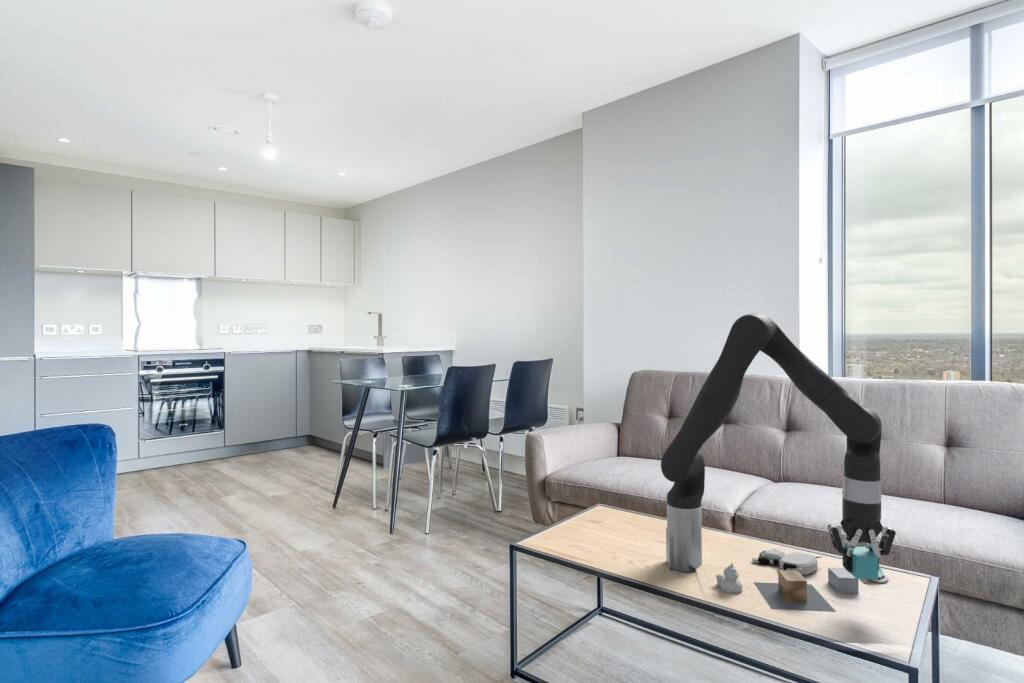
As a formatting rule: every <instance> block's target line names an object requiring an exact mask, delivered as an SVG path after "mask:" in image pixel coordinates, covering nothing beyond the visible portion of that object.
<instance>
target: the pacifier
mask: <svg viewBox="0 0 1024 683" xmlns="http://www.w3.org/2000/svg"><path fill="white" fill-rule="evenodd" d="M882 576H883V577H882ZM878 578H881V579H878V580H875V579H869V580H870V581H872V582H874V583H881V584H883V583H887V582H888V581H889V577H888V575H886V574H885V573H884V571H883V569H882V568H881V567H880V566H879V570H878Z"/></svg>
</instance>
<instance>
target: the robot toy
mask: <svg viewBox="0 0 1024 683" xmlns="http://www.w3.org/2000/svg"><path fill="white" fill-rule="evenodd" d="M822 558H823V556H821V555H819V556H814V555H813V554H809V553H804V552H799V551H797V552H789V553H787V554H785V552H784V551H781V550H778V549H775V548H773V549H770V548H769V549H766V550H762V551H761V552H760V553H759V556H758V557H752V558H751V561H752V563H755V564H756V563H758V565H762V566H767V565H769V564H770V565H774V566H778V567H779V569H780V570H794V571H798V572H799V573H800V574H801V575H802V576H807V575H810V574H813V573H815V571H817V569H818V568H819V566H818V565H819V564H818V559H822Z"/></svg>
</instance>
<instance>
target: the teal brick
mask: <svg viewBox="0 0 1024 683" xmlns="http://www.w3.org/2000/svg"><path fill="white" fill-rule="evenodd" d="M852 557H853V564H852V572H850V573H851V574H852V575H853V576H854V577H855V578H856V579H858V580H870V579H875V580H879V577H878V557H877V556H876V555H875V554H873V553H872V552H871V551H869V548H867V547H866V546H856V548H854V551H853V554H852Z"/></svg>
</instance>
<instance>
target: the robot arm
mask: <svg viewBox="0 0 1024 683" xmlns="http://www.w3.org/2000/svg"><path fill="white" fill-rule="evenodd" d="M723 345H724V346H723V348H722V351H721V353H720V355H719V357H718V360H717V361H716V362H715V365H714V366H713V367H712V369H711V371H710V372H709V374H708V376H707V378H706V380H705V381H704V383H703V384H702V386H701V388H700V390H699V392H698V394H697V396H696V398H695V399H694V401H693V404H692V406H691V407H690V410H689V412H688V414H687V415H686V418H685V419H684V421H683V423H682V425H681V427H680V429H679V430H678V432H677V434H676V435H675V437H673V440H672V441H671V443H670V444H669V446H668V447H667V448H666V449H665V451H664V453H663V454H662V457H661V461H660V469H661V473H662V475H663V477H664V478H665V479H666V480H668V481H670V482H672V483H673V485H672V486H671V488H670V489H669V491H667V494H666V522H667V523H666V526H667V527H665V544H666V545H665V550H666V552H665V553H666V554H665V555H666V556H665V558H666V563H667V566H668V568H669V569H670V570H676V571H680V572H684V573H686V572H688V573H691V572H697V569H696V568H700V567H701V566H702V565H703V543H702V542H703V540H702V534H703V533H702V531H703V530H702V528H703V527H702V524H703V522H702V500H703V497H704V493H705V481H706V480H705V474H706V467H705V459H704V457H703V454H702V452H701V451H700V449H701V448H702V447H703V445H704V444H705V443H706V442H707V441H708V440H709V439H710V438H711V437H712V436H713V435H714V434H715V433H716V432H717V431H718V430H719V429H720V428H722V426H723V424H724V423H725V422H726V420H727V419H728V418H729V416H730V414H731V413H732V411H733V410H734V407H735V405H736V403H737V401H738V399H739V397H740V393H741V388H742V386H743V380H744V377H745V375H746V373H747V370H748V368H749V366H750V365H751V363H752V362H753V360H754V359H756V357H757V355H758V353H759V352H762V353H764V354H765V355H766V356H767V357H770V358H771V359H772V360H773V361H774V362H775V363H776V364H777V365H778V366H779V367H780V368H781V369H782V370H783V371H784V372H785V374H786V375H787V377H788V378H789V380H790V381H791V382H792V383H793V384H794V386H795V387H796V388H797V389H798V390H799V391H800V392H801V394H802V395H803V396H805V397H806V399H808V400H809V401H811V403H812V404H813V405H815V406H816V407H817V408H818V409H820V410H821V411H822V412H823V413H825V415H826V416H827V417H828V418H829V419H830V420H831V422H832V423H833V424H834V425H835V426H836V427H837V428H838V430H840V431H841V432H842V433H843V434H844V435H845V436H846V452H845V454H844V461H843V463H844V464H843V481H842V489H841V495H842V498H841V500H842V501H841V502H842V503H841V504H842V508H841V510H842V512H841V513H842V519H841V521H840V523H839V524H835V525H833V524H828V525H827V530H828V533H829V536H830V539H831V542H832V546H833V548H834V550H835V551H837V552H838V553H839V554H842V568H845V569H846V570H847V571H848V572H852V564H853V557H852V554H853V551H854V548H856V547H858V544H860V543H861V544H862V543H866V545H867V547H868V548H867V549H868V550H869V551H871V552H872V553H873V554H875V555H876V556H877V557H878V570H879V567H880V558H881V557H882V556H886V557H887V556H889V554H890V553H891V548H892V546H893V543H894V540H895V537H896V534H897V532H896V531H895V530H894V529H893V528H891V527H889V526H883V525H882V522H881V519H882V485H881V459H880V458H881V457H880V450H881V441H882V430H883V429H882V428H883V426H882V425H883V424H882V420H881V418H880V417H879V414H877V413H876V412H875V411H874V410H871V409H869V408H863V406H861V405H860V404H859V403H858V402H857V401H855V399H853V398H852V397H851V396H850V395H849V393H848V391H847V390H846V389H845V388H844V387H843V386H842V385H840V383H838V382H837V381H836V380H835V379H834V378H832V377H831V375H829V374H828V373H827V372H825V371H824V370H823V369H822V368H820V367H819V366H818V365H817V364H816V363H815V362H813V361H812V360H811V359H810V358H809V357H808V356H807V355H806V354H805V353H803V351H802V350H801V349H799V348H798V346H796V344H794V342H793V341H792V340H791V339H790V338H789V337H788V335H786V333H785V332H784V331H783V330H782V329H781V328H780V326H779V325H778V324H777V323H776V322H775V320H774V319H773V318H772V317H771V316H770V315H768V314H765V313H762V312H753V313H752V312H751V313H747V314H743V315H741V316H740V317H738V318H737V319H736V320H735V321H734V323H733V324H732V326H731V328H730V330H729V333H728V336H727V337H726V340H725V342H724V344H723ZM842 531H843V532H844V533H845V536H844V539H843V543H842V540H841V535H842ZM880 534H881V538H880V541H879V542H878V540H877V538H878V535H880Z"/></svg>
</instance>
